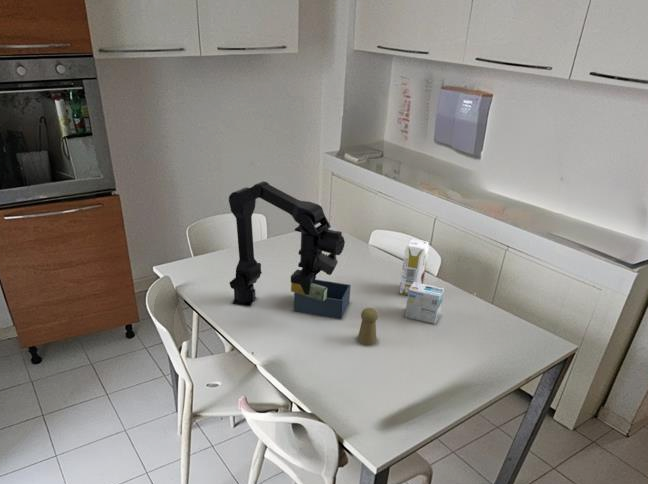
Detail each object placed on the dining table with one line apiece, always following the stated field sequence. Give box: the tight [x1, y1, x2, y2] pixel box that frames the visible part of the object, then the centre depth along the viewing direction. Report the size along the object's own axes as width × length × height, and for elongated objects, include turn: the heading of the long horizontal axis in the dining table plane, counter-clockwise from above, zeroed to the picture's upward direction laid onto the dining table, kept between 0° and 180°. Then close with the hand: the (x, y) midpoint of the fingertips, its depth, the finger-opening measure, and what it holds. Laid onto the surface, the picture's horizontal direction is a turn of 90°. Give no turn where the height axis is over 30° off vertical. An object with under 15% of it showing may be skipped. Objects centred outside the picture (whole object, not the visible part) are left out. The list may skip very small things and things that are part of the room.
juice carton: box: [399, 238, 430, 296], centre depth 189 cm, size 8×9×19 cm
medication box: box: [290, 282, 327, 301], centre depth 167 cm, size 12×3×4 cm, turn 62°
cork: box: [357, 307, 379, 347], centre depth 162 cm, size 6×6×11 cm
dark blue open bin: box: [293, 278, 352, 320], centre depth 181 cm, size 17×12×7 cm
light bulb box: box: [404, 282, 445, 325], centre depth 176 cm, size 11×7×11 cm, turn 65°
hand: (308, 292), depth 168 cm, fingers closed on medication box, 3 cm apart
